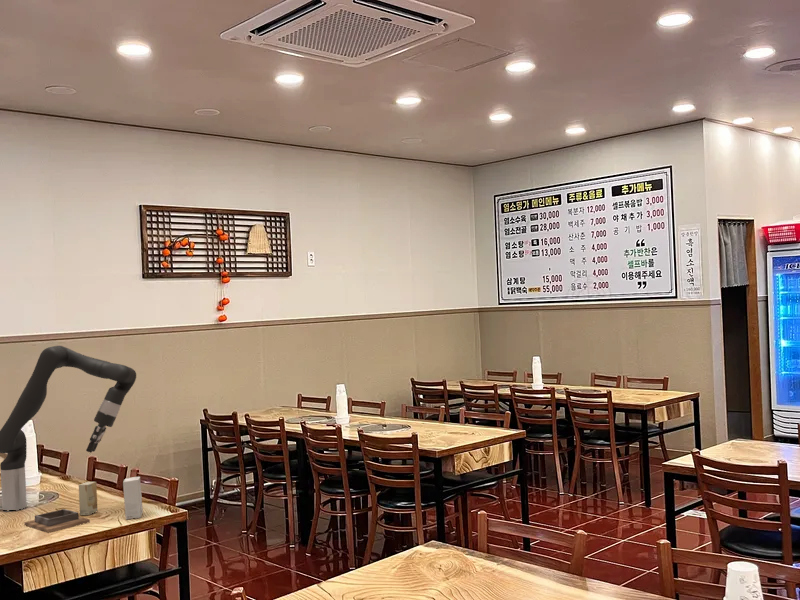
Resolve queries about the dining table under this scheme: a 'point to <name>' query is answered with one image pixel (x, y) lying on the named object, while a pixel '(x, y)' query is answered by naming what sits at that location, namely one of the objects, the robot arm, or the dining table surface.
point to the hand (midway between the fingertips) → (90, 451)
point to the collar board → (56, 520)
